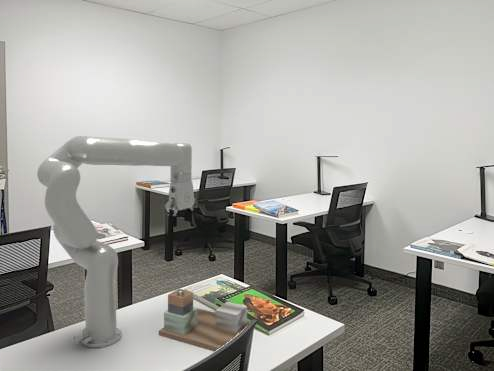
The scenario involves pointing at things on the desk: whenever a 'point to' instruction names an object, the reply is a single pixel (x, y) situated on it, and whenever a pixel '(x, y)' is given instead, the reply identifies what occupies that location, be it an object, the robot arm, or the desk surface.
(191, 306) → the housing
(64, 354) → the desk surface
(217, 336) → the stand board
